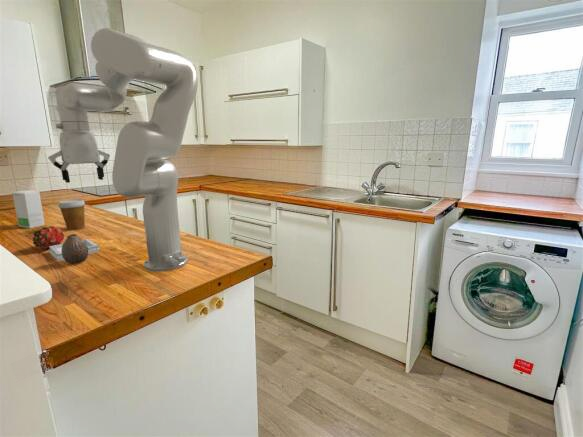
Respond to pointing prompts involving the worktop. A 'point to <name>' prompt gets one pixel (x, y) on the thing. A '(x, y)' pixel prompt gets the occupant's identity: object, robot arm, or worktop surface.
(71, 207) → the disposable coffee cup
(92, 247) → the baseplate
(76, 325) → the worktop surface
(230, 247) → the worktop surface
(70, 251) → the vase
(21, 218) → the skincare box
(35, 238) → the dragon fruit
